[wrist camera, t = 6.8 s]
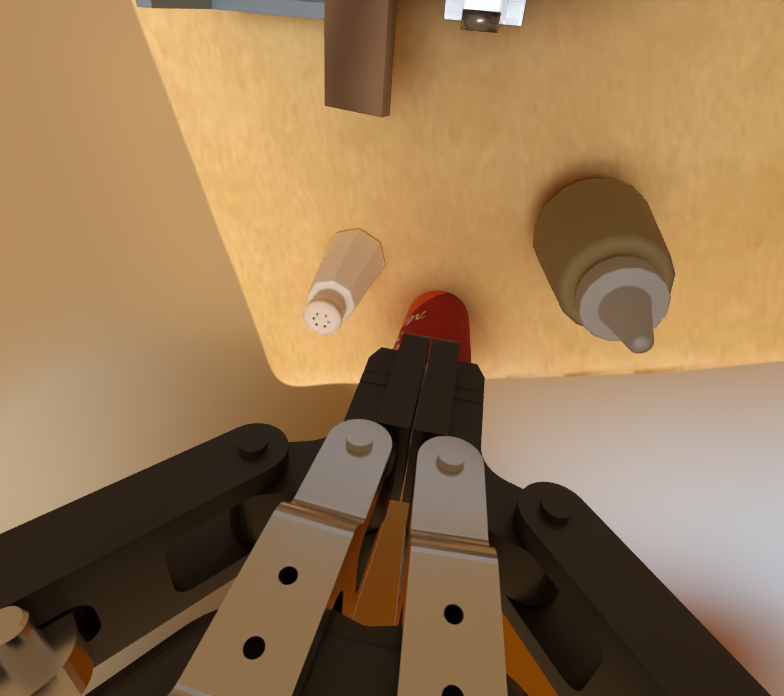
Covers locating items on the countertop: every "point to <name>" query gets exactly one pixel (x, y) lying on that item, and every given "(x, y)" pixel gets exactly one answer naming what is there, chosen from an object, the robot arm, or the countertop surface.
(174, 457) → the robot arm
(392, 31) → the lever
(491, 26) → the pivot stand
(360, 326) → the countertop surface
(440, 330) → the paper cup
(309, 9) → the cup
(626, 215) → the squeeze bottle
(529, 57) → the countertop surface
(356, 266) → the salt shaker
